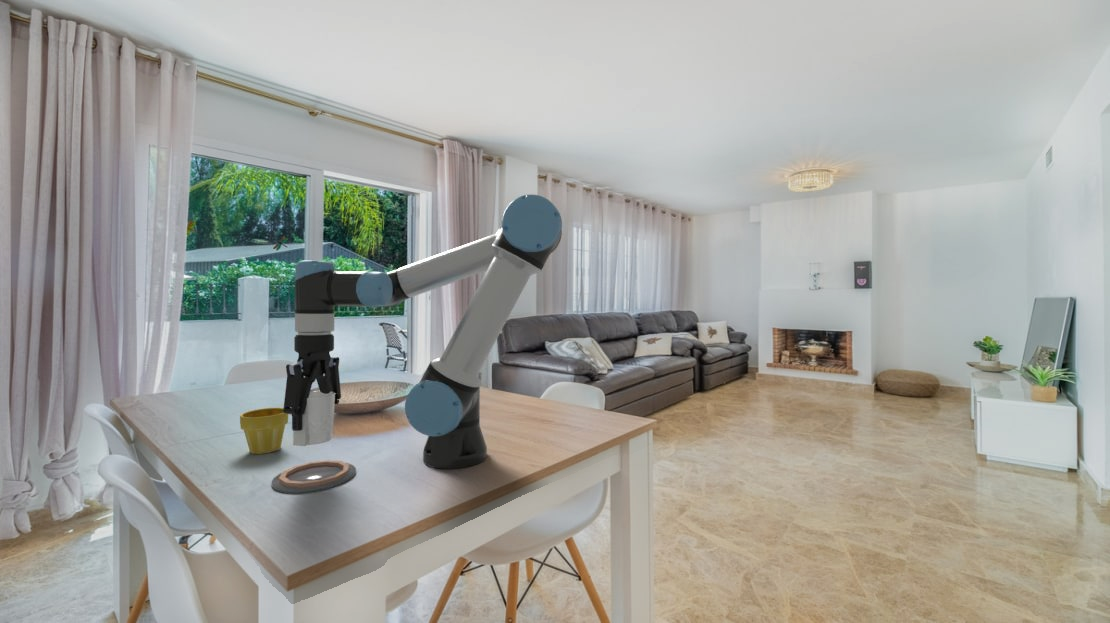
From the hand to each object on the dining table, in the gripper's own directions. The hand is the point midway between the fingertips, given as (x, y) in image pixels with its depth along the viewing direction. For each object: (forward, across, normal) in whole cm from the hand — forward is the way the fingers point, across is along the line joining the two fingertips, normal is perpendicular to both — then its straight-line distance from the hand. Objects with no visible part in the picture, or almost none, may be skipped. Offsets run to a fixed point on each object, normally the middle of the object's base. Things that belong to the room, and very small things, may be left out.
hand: (314, 439), depth 97 cm
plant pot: (+9, -14, -25) cm, 30 cm away
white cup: (0, 0, 0) cm, 0 cm away
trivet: (+8, 0, 0) cm, 8 cm away
